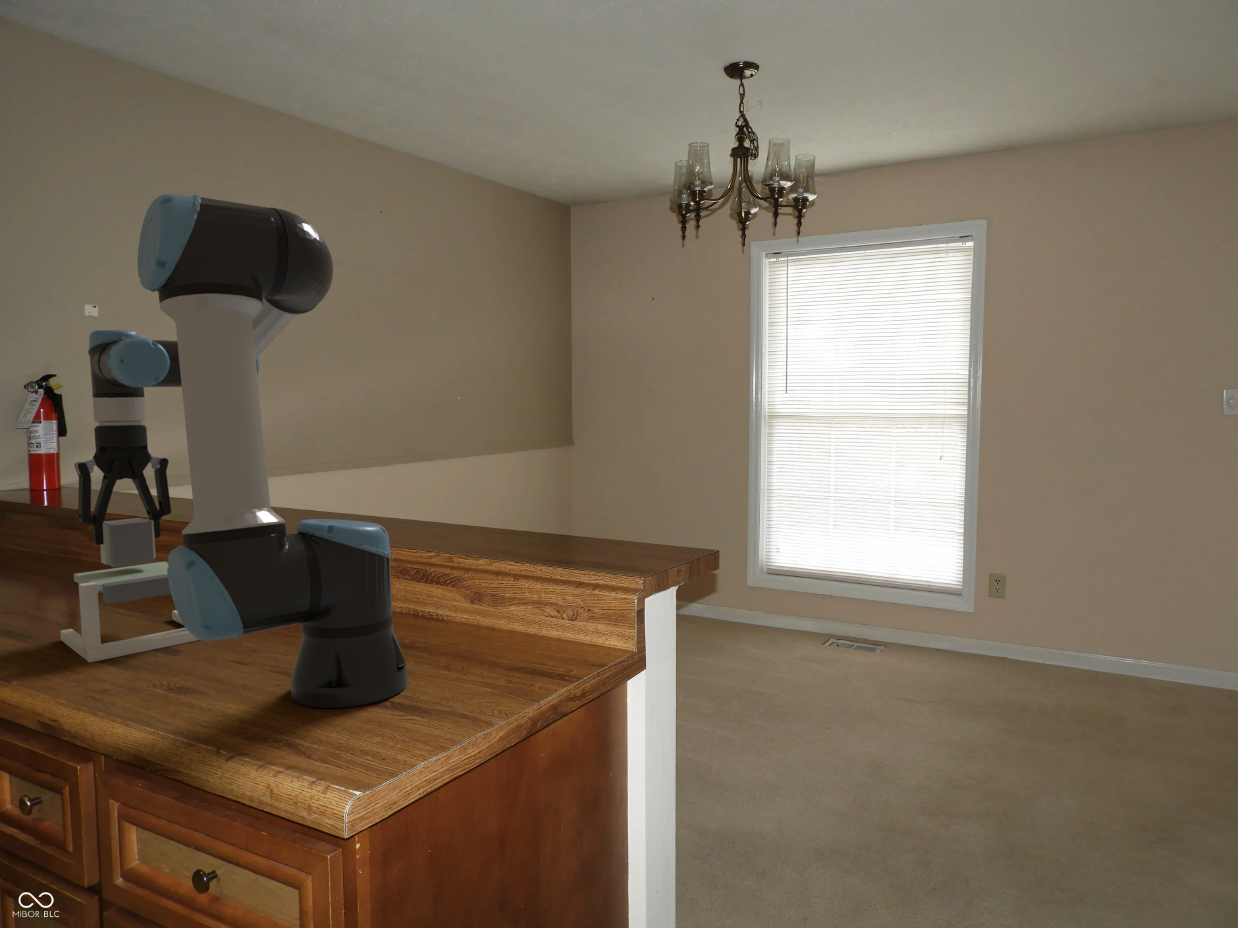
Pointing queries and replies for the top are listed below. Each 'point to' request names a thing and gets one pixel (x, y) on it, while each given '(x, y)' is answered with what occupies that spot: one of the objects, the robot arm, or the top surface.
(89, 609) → the stand
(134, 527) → the basalt block
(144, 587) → the trapdoor
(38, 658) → the top surface
